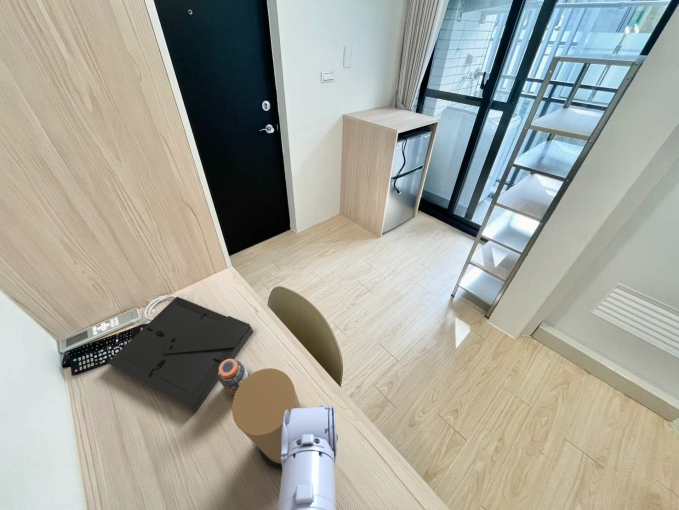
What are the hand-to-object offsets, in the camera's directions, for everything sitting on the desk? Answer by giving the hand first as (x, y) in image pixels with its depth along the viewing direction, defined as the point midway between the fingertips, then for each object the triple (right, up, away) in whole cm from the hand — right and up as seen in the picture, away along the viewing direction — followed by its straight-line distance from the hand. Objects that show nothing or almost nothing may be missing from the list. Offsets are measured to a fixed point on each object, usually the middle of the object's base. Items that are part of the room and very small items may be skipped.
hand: (320, 464), depth 49 cm
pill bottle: (-22, +5, +20) cm, 30 cm away
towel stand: (-9, -3, +12) cm, 15 cm away
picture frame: (-40, +12, +27) cm, 49 cm away
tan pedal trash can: (-5, -2, +11) cm, 12 cm away
